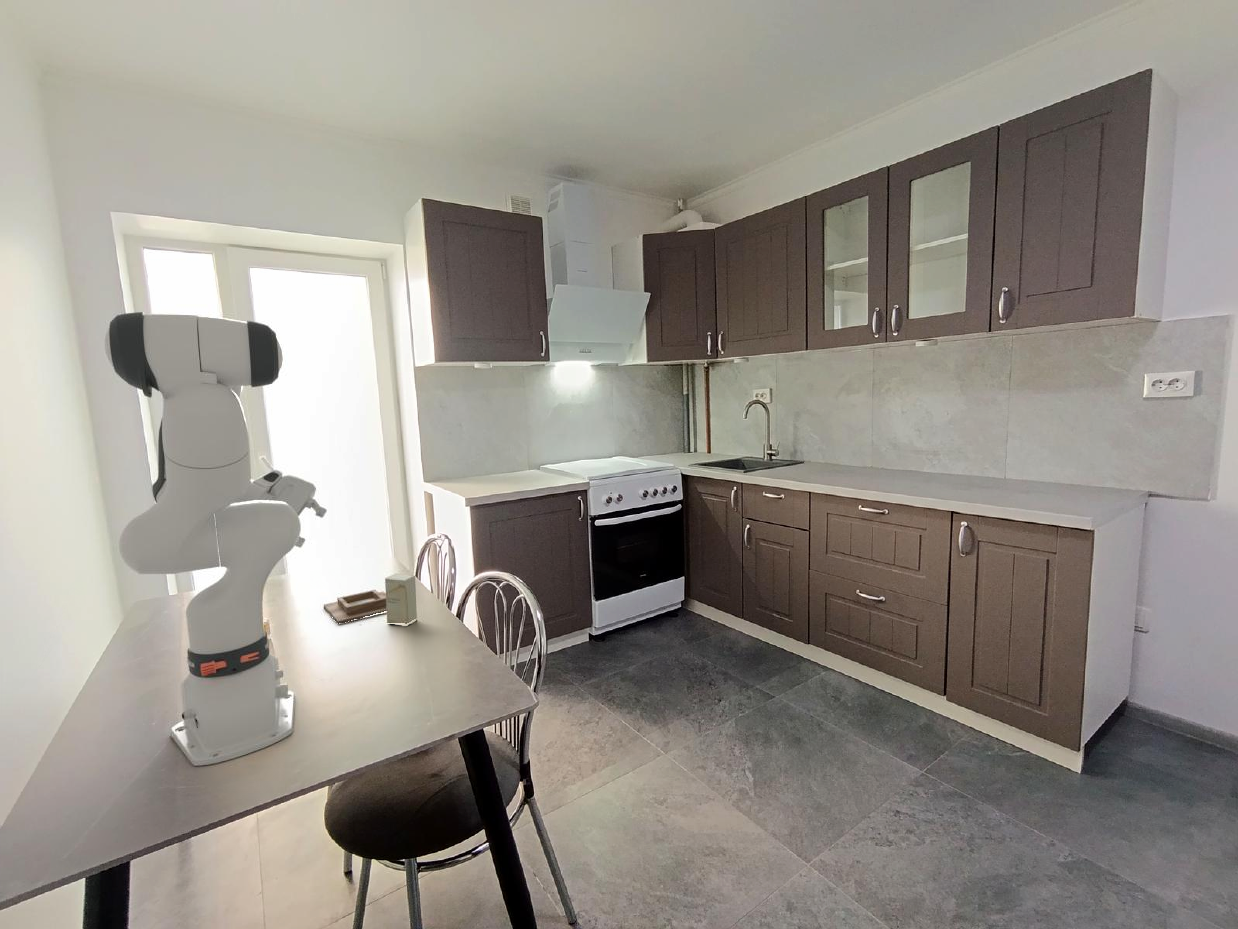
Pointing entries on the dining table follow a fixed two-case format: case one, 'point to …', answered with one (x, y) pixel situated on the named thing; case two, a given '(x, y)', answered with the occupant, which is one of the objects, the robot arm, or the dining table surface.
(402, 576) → the skincare box
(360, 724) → the dining table surface
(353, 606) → the brown box holder base
